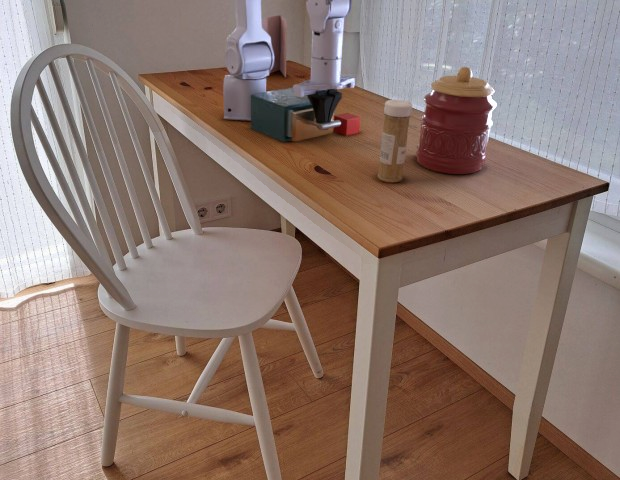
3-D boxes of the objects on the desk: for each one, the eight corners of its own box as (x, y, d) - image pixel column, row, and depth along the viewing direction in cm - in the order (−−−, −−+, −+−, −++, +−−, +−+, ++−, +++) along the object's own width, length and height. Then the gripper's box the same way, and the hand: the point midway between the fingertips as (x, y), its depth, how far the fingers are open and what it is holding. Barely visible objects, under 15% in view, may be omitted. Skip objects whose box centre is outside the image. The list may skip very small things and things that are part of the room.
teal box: (325, 132, 127) (327, 98, 123) (283, 142, 120) (284, 106, 117) (292, 120, 134) (293, 87, 130) (250, 128, 127) (250, 94, 123)
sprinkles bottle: (406, 182, 104) (416, 105, 97) (381, 184, 103) (390, 105, 96) (397, 173, 108) (406, 98, 101) (373, 174, 107) (381, 98, 100)
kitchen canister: (411, 150, 119) (424, 58, 110) (475, 154, 119) (494, 61, 110) (419, 173, 108) (434, 73, 99) (490, 177, 108) (511, 77, 99)
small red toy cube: (359, 132, 128) (360, 117, 126) (346, 135, 126) (347, 119, 124) (346, 128, 131) (347, 112, 129) (333, 131, 128) (334, 115, 126)
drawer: (349, 138, 122) (351, 111, 119) (311, 148, 116) (312, 119, 113) (301, 121, 131) (302, 95, 128) (263, 128, 125) (263, 101, 122)
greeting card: (276, 68, 179) (277, 14, 171) (299, 71, 177) (300, 16, 169) (259, 75, 170) (259, 18, 162) (282, 79, 168) (283, 21, 160)
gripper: (312, 64, 105) (309, 140, 112) (368, 56, 113) (362, 127, 121) (286, 57, 109) (285, 130, 117) (342, 50, 118) (338, 119, 125)
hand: (322, 128), depth 119 cm, fingers closed
